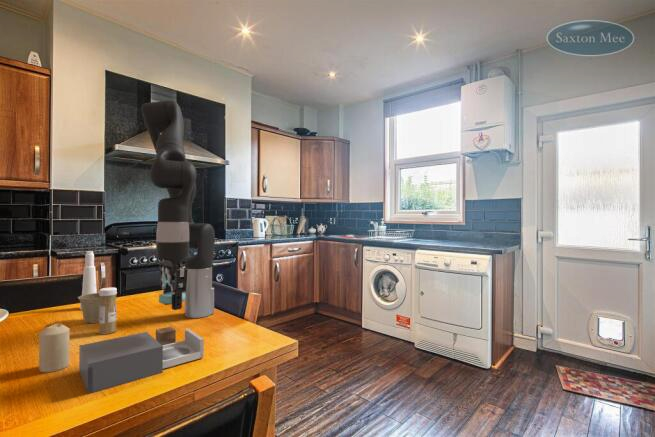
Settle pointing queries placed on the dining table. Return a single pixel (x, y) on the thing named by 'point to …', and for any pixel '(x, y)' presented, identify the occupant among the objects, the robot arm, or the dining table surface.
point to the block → (166, 335)
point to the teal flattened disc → (168, 298)
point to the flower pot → (90, 307)
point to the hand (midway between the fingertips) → (172, 306)
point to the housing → (119, 361)
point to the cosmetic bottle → (89, 275)
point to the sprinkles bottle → (107, 310)
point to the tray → (183, 350)
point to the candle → (54, 348)
